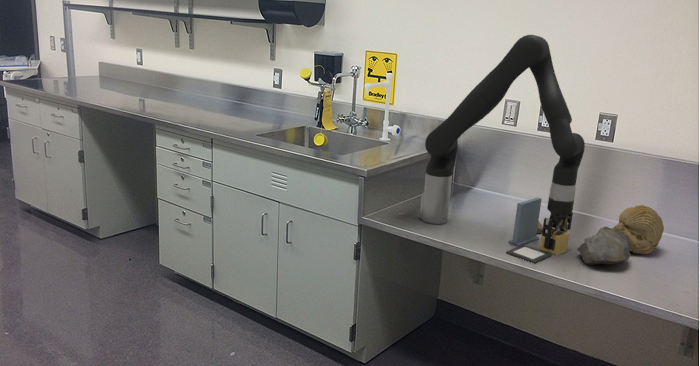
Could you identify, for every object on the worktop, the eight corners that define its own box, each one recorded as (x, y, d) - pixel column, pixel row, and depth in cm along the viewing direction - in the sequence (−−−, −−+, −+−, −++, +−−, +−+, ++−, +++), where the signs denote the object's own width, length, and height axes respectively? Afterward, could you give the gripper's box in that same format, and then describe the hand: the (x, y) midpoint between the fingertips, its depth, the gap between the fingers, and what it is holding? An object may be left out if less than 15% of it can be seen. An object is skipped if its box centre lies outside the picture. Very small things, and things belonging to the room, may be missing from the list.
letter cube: (539, 249, 187) (542, 231, 185) (549, 245, 191) (552, 227, 189) (556, 255, 182) (559, 237, 181) (566, 251, 186) (569, 233, 185)
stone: (588, 214, 187) (639, 224, 179) (584, 243, 191) (634, 254, 183) (572, 236, 173) (626, 249, 165) (568, 267, 177) (621, 280, 169)
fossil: (594, 242, 195) (602, 200, 191) (633, 237, 202) (641, 196, 198) (630, 259, 182) (639, 214, 178) (670, 254, 188) (680, 210, 184)
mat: (505, 253, 182) (506, 251, 182) (523, 246, 188) (523, 244, 188) (534, 263, 175) (534, 261, 174) (551, 256, 181) (551, 254, 181)
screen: (508, 243, 190) (514, 202, 187) (528, 235, 198) (534, 196, 195) (519, 246, 188) (525, 205, 184) (539, 239, 195) (544, 199, 192)
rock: (527, 235, 199) (529, 223, 198) (512, 224, 210) (513, 212, 209) (547, 234, 201) (549, 222, 200) (531, 223, 211) (533, 212, 210)
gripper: (562, 190, 189) (554, 237, 194) (538, 197, 180) (531, 247, 184) (584, 196, 184) (576, 244, 188) (561, 203, 174) (553, 254, 179)
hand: (554, 245), depth 186 cm, fingers open, 7 cm apart
